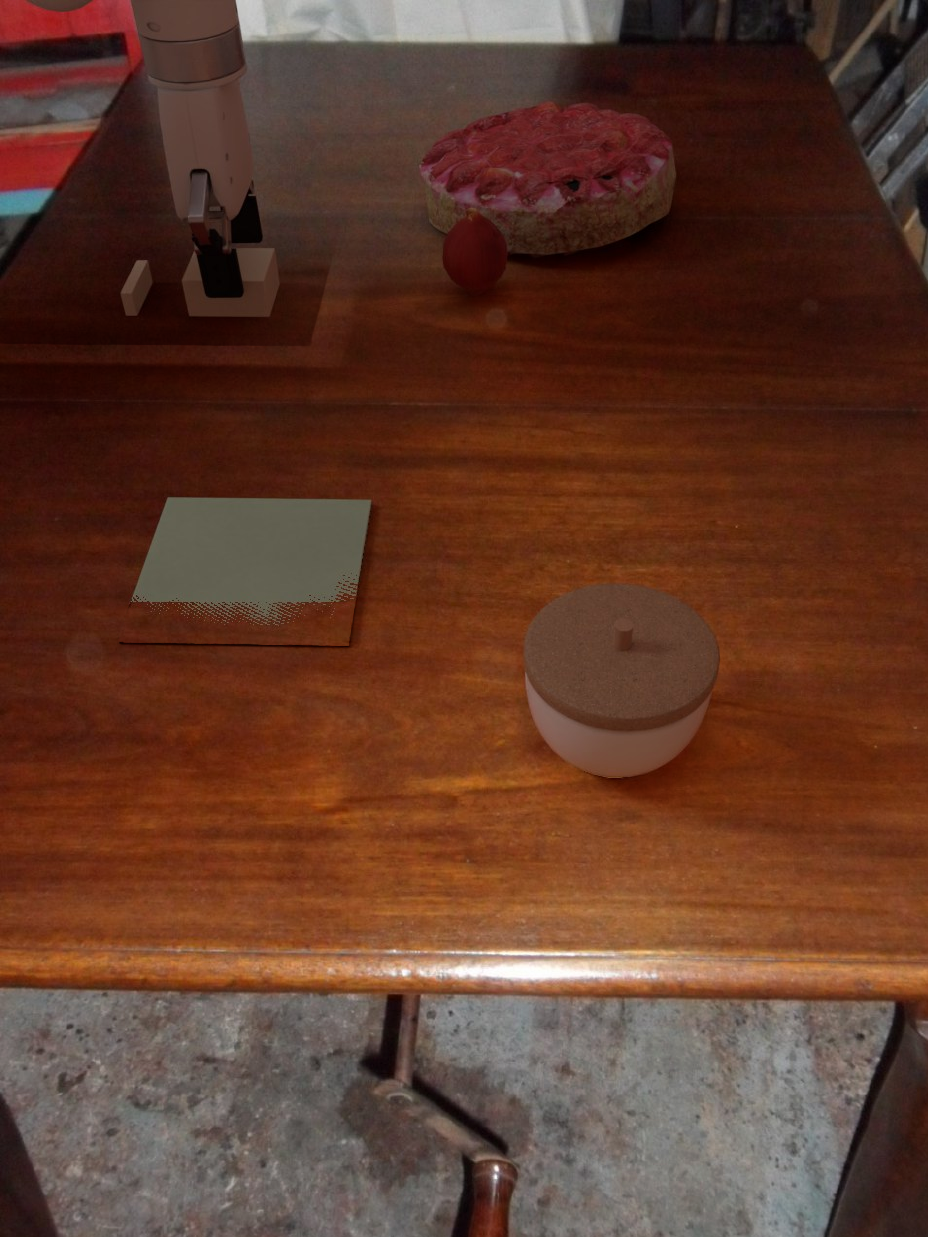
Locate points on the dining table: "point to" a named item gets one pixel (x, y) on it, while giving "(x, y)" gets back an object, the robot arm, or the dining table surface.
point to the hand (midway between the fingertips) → (235, 268)
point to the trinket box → (619, 677)
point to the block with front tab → (255, 301)
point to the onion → (474, 253)
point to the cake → (552, 176)
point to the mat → (254, 553)
